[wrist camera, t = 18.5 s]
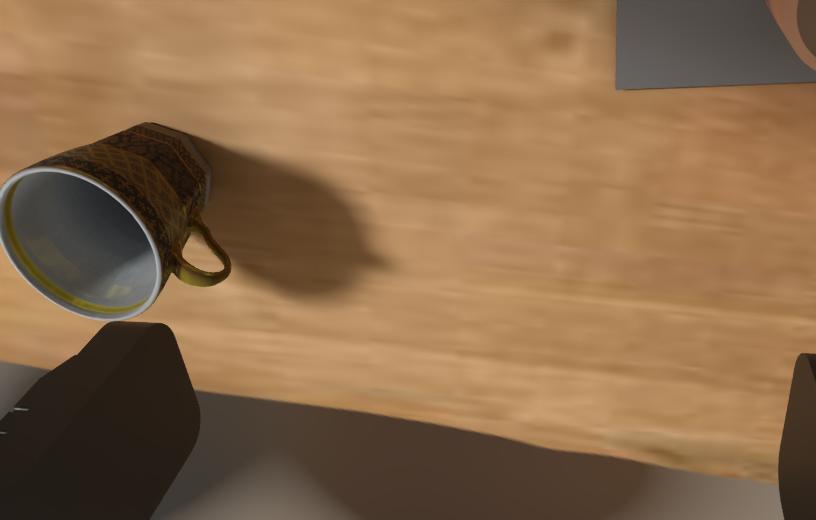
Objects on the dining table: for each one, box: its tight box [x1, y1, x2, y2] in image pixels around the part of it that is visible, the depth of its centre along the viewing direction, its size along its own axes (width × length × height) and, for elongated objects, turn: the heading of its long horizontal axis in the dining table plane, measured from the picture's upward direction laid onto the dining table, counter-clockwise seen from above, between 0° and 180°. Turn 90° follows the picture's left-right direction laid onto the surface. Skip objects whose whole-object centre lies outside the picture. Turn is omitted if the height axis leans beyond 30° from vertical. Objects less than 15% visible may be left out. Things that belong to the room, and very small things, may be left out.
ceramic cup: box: [0, 122, 231, 321], centre depth 46 cm, size 13×10×10 cm
